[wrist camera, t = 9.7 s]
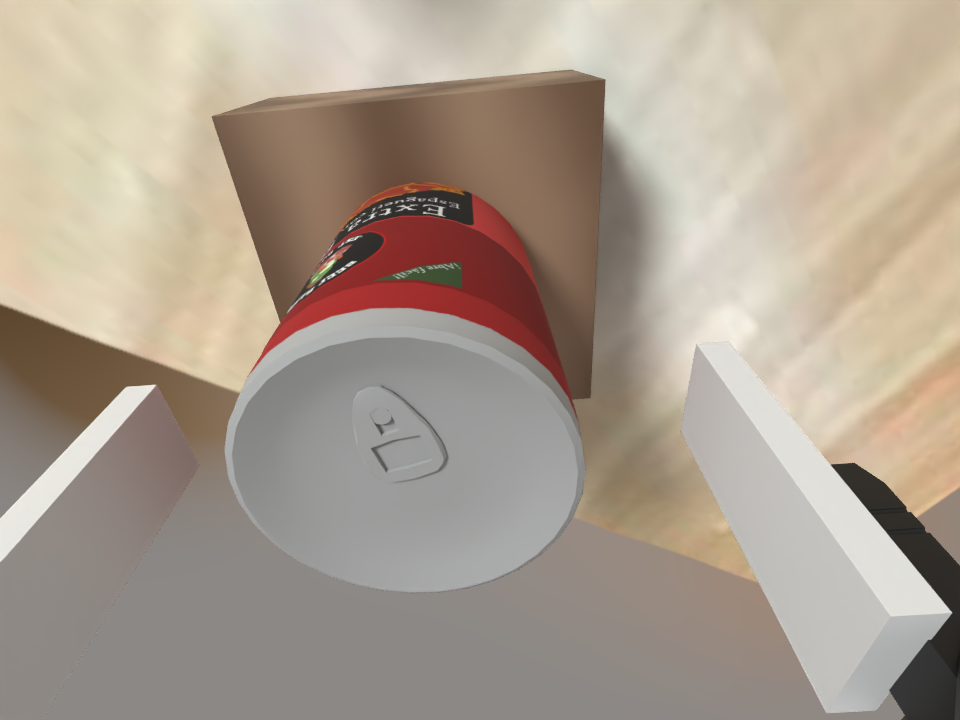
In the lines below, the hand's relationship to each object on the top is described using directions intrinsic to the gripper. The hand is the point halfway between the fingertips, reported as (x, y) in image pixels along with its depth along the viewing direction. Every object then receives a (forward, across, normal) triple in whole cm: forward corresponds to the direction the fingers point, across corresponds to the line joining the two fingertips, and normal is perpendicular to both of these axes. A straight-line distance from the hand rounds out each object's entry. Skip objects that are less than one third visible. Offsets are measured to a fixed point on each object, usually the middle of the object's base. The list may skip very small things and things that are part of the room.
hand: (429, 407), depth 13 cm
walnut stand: (+14, +1, 0) cm, 15 cm away
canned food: (+9, 0, 0) cm, 9 cm away
